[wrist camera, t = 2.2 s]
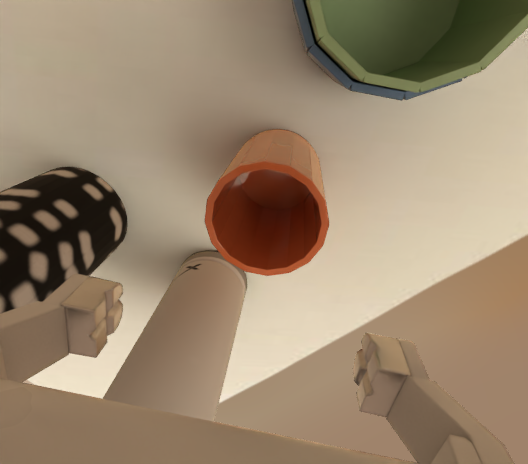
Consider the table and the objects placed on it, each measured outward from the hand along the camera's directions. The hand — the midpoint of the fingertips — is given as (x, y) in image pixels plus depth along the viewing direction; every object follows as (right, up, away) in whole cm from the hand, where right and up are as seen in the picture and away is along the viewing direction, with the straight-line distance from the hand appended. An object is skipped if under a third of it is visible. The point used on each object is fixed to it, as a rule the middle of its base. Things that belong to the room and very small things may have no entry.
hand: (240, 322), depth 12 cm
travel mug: (-4, -1, +20) cm, 21 cm away
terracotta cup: (+2, +8, +15) cm, 17 cm away
